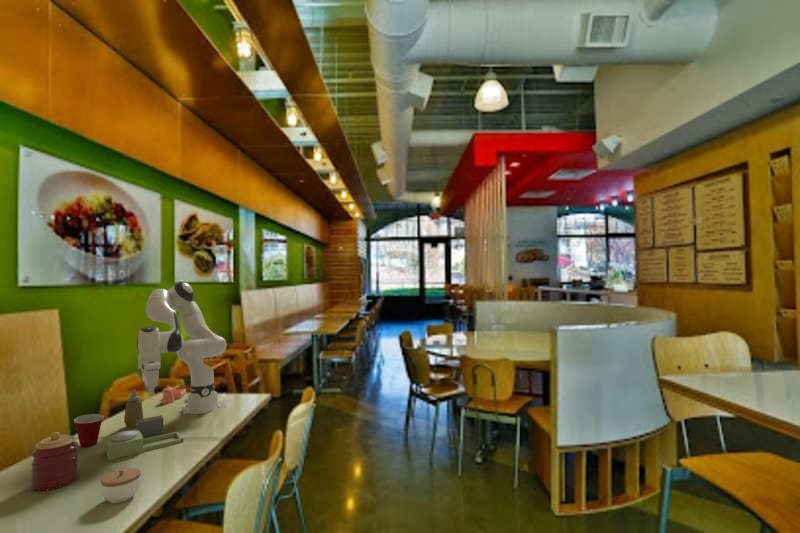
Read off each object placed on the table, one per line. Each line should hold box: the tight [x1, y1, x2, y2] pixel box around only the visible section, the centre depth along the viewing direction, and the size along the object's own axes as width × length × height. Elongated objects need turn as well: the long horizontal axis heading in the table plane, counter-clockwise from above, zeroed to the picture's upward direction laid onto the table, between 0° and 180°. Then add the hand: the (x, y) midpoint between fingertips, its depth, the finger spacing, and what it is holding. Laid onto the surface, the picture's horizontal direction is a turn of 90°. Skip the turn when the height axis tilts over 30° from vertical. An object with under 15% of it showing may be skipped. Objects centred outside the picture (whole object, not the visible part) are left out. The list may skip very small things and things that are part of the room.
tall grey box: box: [135, 414, 164, 439], centre depth 193 cm, size 5×10×8 cm, turn 128°
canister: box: [30, 431, 79, 491], centre depth 151 cm, size 13×13×18 cm
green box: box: [105, 430, 184, 461], centre depth 181 cm, size 12×27×7 cm, turn 128°
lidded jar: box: [100, 467, 142, 504], centre depth 139 cm, size 11×11×9 cm
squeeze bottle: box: [123, 388, 145, 429], centre depth 206 cm, size 8×8×18 cm
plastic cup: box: [73, 413, 105, 449], centre depth 184 cm, size 11×11×12 cm
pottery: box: [161, 385, 187, 405], centre depth 251 cm, size 18×10×10 cm, turn 9°
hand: (149, 393), depth 193 cm, fingers open, 8 cm apart
